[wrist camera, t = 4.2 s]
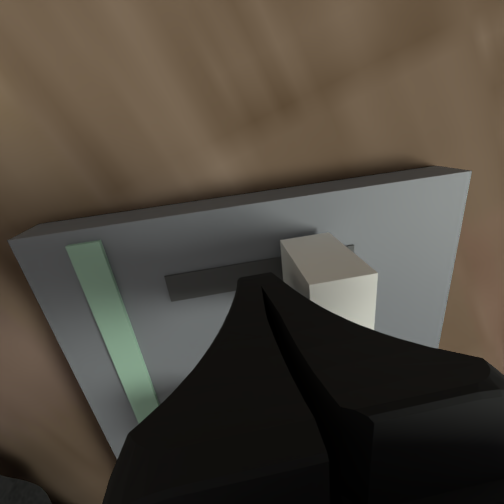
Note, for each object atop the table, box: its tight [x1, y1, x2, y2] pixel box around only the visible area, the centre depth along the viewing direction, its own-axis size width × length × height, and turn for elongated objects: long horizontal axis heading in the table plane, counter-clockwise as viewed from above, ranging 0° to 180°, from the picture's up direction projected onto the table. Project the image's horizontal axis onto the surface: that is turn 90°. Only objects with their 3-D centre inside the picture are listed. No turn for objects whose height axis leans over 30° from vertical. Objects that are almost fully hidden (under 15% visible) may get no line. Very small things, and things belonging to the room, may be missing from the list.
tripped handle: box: [280, 232, 378, 330], centre depth 10 cm, size 2×3×4 cm, turn 6°
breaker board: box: [7, 166, 472, 459], centre depth 16 cm, size 18×20×2 cm
